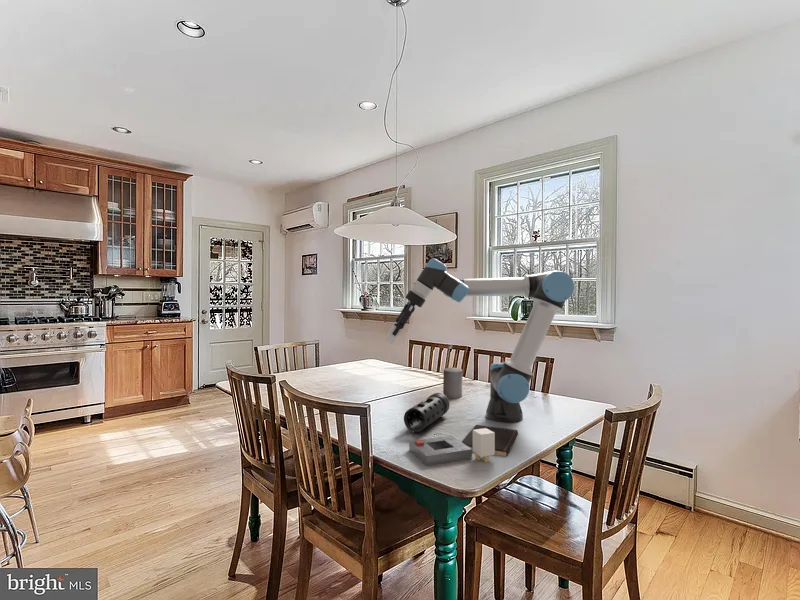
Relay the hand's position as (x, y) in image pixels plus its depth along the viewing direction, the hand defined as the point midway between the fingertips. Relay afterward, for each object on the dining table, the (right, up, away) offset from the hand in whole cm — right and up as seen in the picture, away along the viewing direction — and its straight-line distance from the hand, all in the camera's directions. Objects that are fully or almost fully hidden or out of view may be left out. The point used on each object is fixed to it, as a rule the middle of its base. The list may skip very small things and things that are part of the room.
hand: (388, 339), depth 172 cm
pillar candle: (+31, -34, +48) cm, 66 cm away
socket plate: (+18, -35, -30) cm, 49 cm away
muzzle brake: (+16, -35, +2) cm, 38 cm away
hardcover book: (+37, -36, -18) cm, 54 cm away
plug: (+31, -35, -34) cm, 58 cm away
